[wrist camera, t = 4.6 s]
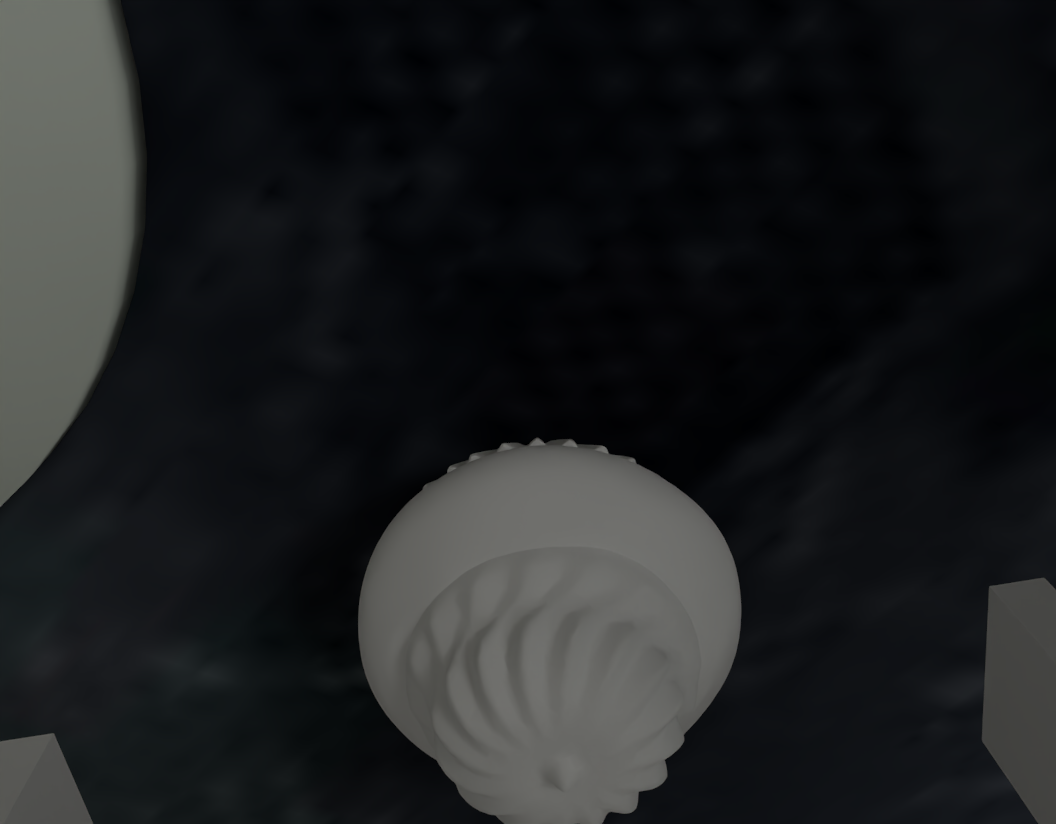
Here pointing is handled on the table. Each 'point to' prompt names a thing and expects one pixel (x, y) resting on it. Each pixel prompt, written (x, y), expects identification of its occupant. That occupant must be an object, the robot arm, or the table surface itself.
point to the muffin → (549, 627)
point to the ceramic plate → (63, 215)
